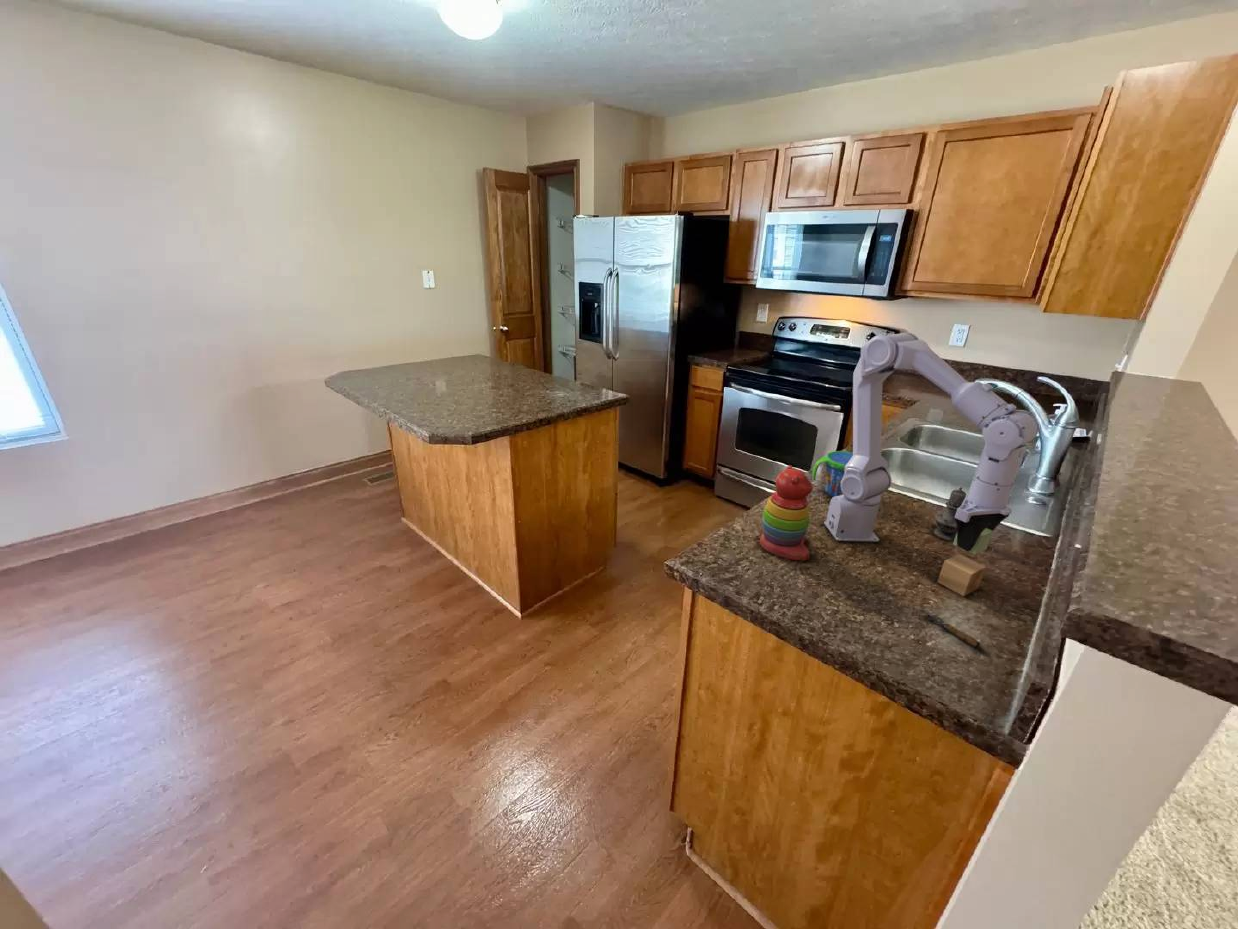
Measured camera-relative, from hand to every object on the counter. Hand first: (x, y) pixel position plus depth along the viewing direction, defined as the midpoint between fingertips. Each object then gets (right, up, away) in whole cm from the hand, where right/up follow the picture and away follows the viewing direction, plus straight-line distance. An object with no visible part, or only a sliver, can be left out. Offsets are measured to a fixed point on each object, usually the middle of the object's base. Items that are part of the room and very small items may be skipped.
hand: (970, 545), depth 95 cm
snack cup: (-7, +7, +39) cm, 40 cm away
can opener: (-9, -13, -8) cm, 18 cm away
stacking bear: (-30, -3, +15) cm, 34 cm away
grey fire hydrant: (+9, -1, +21) cm, 23 cm away
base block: (0, -8, +3) cm, 9 cm away
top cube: (0, 0, 0) cm, 0 cm away
